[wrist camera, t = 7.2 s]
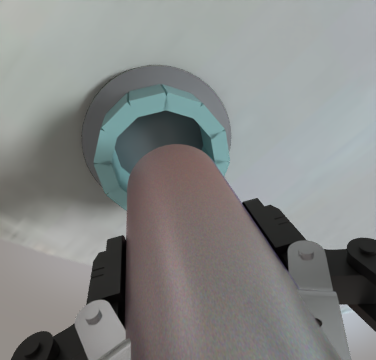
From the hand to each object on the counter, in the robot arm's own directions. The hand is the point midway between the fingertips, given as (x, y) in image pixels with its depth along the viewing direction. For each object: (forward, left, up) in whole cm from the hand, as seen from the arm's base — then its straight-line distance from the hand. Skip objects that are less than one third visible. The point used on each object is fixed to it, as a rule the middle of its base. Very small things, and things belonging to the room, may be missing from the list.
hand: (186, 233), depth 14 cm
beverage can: (0, 0, -6) cm, 6 cm away
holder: (0, 0, -14) cm, 14 cm away
